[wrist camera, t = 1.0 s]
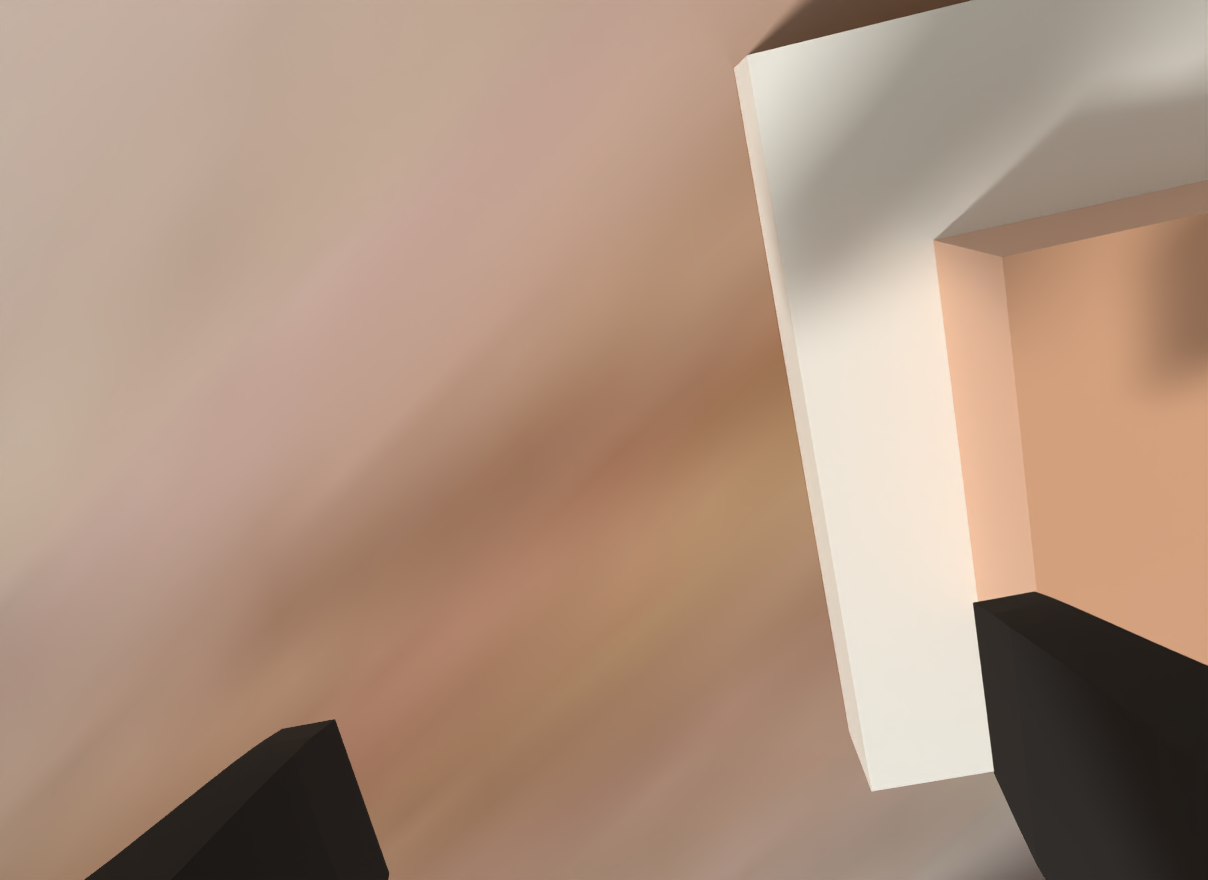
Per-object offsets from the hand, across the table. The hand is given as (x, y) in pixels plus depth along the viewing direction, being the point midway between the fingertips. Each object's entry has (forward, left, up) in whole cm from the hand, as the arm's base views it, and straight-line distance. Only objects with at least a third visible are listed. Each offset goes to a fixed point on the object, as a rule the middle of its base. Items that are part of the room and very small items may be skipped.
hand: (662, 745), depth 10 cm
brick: (-9, 0, -7) cm, 11 cm away
